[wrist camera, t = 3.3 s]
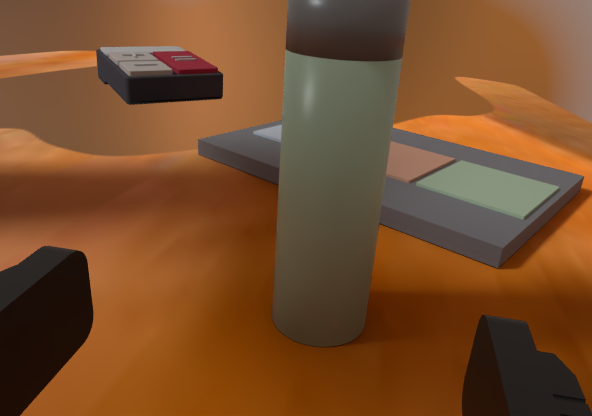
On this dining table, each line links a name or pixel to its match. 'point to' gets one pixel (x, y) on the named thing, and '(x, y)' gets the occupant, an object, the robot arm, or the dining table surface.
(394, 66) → the green bottle grey cap
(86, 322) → the robot arm
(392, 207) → the picture board
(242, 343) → the dining table surface
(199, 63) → the calculator
